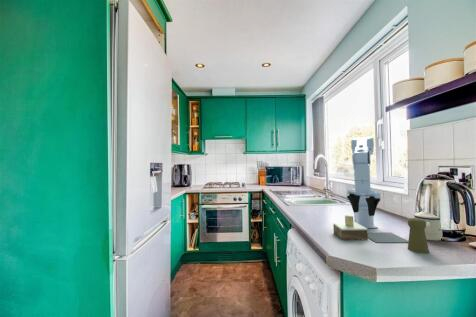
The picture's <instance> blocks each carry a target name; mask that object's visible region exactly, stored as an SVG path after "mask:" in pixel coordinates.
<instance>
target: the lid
mask: <svg viewBox="0 0 476 317" xmlns="http://www.w3.org/2000/svg"><path fill="white" fill-rule="evenodd" d="M333 224H334V225H335V226H337V227H338V228H339V229H341V230H367V231H368V228H365V227H363V226H362V225H360V224H358V223H354V215H351V214H350V215H348V214H347V215H344V222H333Z"/></svg>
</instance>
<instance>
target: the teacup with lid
mask: <svg viewBox="0 0 476 317" xmlns="http://www.w3.org/2000/svg"><path fill="white" fill-rule="evenodd" d="M423 211H424V210H422V211H420V212H415V213H414V215H413V216H414V217H413V218H419V219H423V220H424V221H425V222H426V228H425V229H424V230H425V234H426V239H427V241H436V242H437V241H442V240H441V237H442V236H443V229H442V230H441V223H440V217H438V216H435V215H433V214H431V213H429V212H423Z"/></svg>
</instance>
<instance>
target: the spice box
mask: <svg viewBox="0 0 476 317" xmlns="http://www.w3.org/2000/svg"><path fill="white" fill-rule="evenodd" d="M332 227H333V234H334V235H335V236H336V237H338V239H340V240H341V241H368V240H369V238H368V235H367V233H368V229H367V230H341V229H339V228H338V227H337V226H335V225H334V224H333V226H332Z"/></svg>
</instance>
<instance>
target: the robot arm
mask: <svg viewBox="0 0 476 317" xmlns="http://www.w3.org/2000/svg"><path fill="white" fill-rule="evenodd" d="M350 142H351V143H350V144H351V152H352V157H351V158H352V159H351V160H352V165H353V166H352V167H353V170H354V171H353V175H354V178H353V179H354V189H347V191H346V192H347V193H346V194H347V195H346V198H347V199H348V201H349V203H350V205H351V208H352V212H353V223H358V224H360V225H362V226H363V227H365V228H367V229H378V228H379V227H378V226H376V225H375V224H374V222H375V221H374V220H375V219H374V216H375V214H376V210H377V206H378V205H379V203H380V201H381V192H376V191H374V190H373V189H372V188H371V169H370V165H371V156H372V155H373V153H374V146H375V145H374V137H373V136H365V137H364V136H363V137H352V138H351V140H350Z"/></svg>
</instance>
